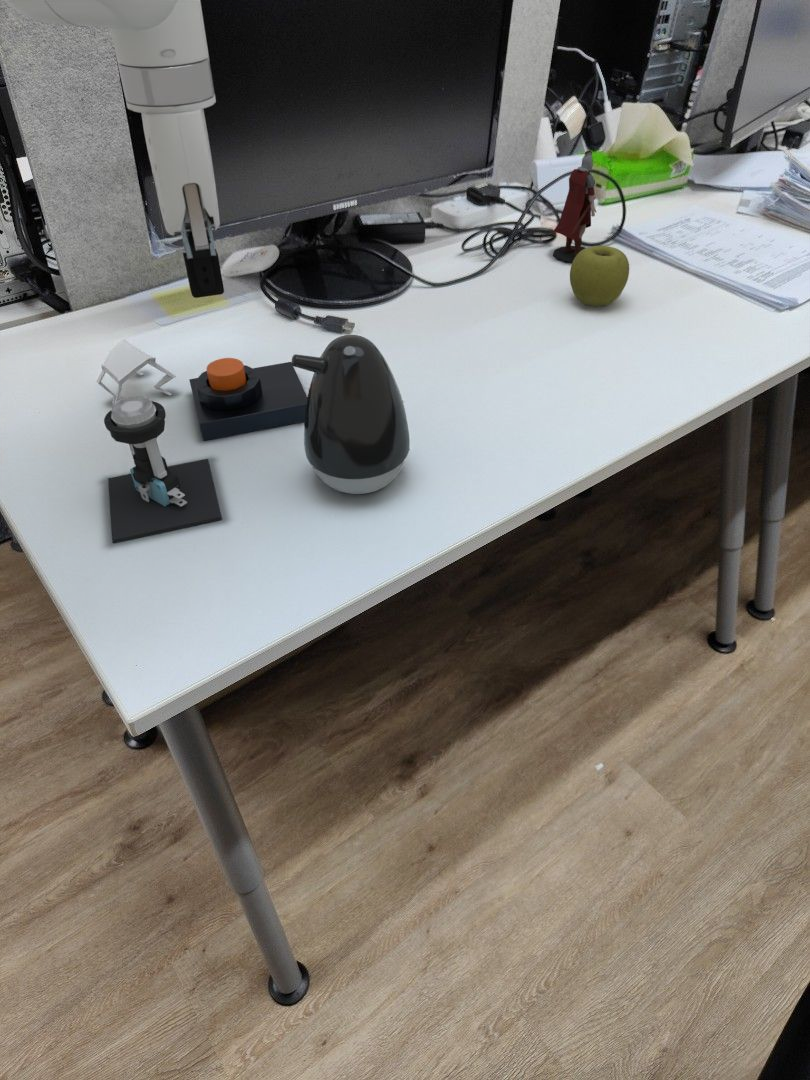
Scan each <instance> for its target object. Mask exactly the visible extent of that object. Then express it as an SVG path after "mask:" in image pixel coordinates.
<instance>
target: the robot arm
mask: <svg viewBox="0 0 810 1080" xmlns="http://www.w3.org/2000/svg"><path fill="white" fill-rule="evenodd" d="M3 2H5V3H6V4H7V5H8V6H10V8H12V9H13V10H15V11H16V12H18V13H19V14H20V15H23V16H24V17H26V18H28V19H30V20H33V21H37V22H39V23H44V24H46V25H47V24H48V25H53V26H67V27H78V28H88V27H89V28H90V27H93V28H101V29H102V28H103V29H109V31H110V35H111V39H112V44H113V49H114V53H115V57H116V63H117V67H118V72H119V76H120V80H121V85H122V86H121V87H122V91H123V94H124V98H125V103H126V108H127V109H128V110H129V111H132V112H135V113H139V114H141V120H142V128H143V134H144V138H145V139H144V140H145V144H146V149H147V154H148V160H149V163H150V168H151V173H152V176H153V182H154V187H155V191H156V195H157V200H158V205H159V209H160V213H161V218H162V221H163V225H164V229H165V231H166V233H167V234H169V236H173V237H175V236H176V234H175V233H180V234H181V241H182V244H183V245H182V246H183V249H184V252H182V256H183V260H184V266H185V270H186V275H187V280H188V286H189V289H190V293H191V296H192V297H193V298H194V299H198V298H204V297H212V296H218V295H223V294H224V293H225V287H224V282H223V275H222V271H221V265H220V258H219V254H218V252H217V248H216V246H215V240H214V239H215V238H214V234H213V233H214V232H213V231H217V229H219V227H220V226H221V221H220V211H219V202H218V201H219V200H218V194H217V193H218V192H217V186H216V179H215V172H214V165H213V158H212V152H211V145H210V139H209V133H208V128H207V121H206V116H205V110H204V109H207V108H210V107H212V106H214V105H215V104H216V102H217V99H216V92H215V86H214V80H213V79H214V78H213V73H212V72H213V71H212V67H211V61H210V60H211V59H210V54H209V47H208V41H207V34H206V28H205V22H204V15H203V10H202V8H203V7H202V2H201V0H3Z"/></svg>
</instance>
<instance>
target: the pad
mask: <svg viewBox="0 0 810 1080" xmlns="http://www.w3.org/2000/svg"><path fill="white" fill-rule="evenodd" d="M167 467H168V469H169V471H171V472H173V473H175V474H176V475H177V476H178V479H179V483H180V488H179V491H180V492H182V493H183V494H185V496H184V497H182V498H181V499H183V500H185V501H186V502H187V503H186V504H185V505H183V506H181V507H180V506H179V505H177V504H175V503H170V504H169V505H167V506H163V505H162V504H160V503H158V502H156V501H155V500H153V499H151V498H150V497H148V498H149V502H147V501H145V500H144V499H143V498H142V497H141V493H140V492H139V491H137V490H136V488H135V485H134V481H133V478H132V475H131V473H128V474H123V475H117V476H112V477H108V478H107V483H108V485H107V486H108V499H109V516H110V531H111V542H112V544H114V543H120V542H125V541H129V540H134V539H138V538H143V537H147V536H153V535H157V534H161V533H166V532H170V531H171V532H172V531H175V530H176V531H177V530H180V529H181V530H182V529H185V528H190V527H195V526H199V525H204V524H209V523H212V522H216V521H217V522H219V521H222V520H223V517H222V513H221V508H220V505H219V500H218V496H217V491H216V488H215V482H214V479H213V475H212V471H211V466H210V462H209V459H208V458H204V459H198V460H193V461H189V462H184V463H178V464H174V465H169V466H168V465H167ZM143 495H144V494H143ZM180 495H181V494H179V496H180ZM144 497H145V498H146V496H145V495H144ZM179 503H180V504H181V503H183V502H182V501H181V502H179Z"/></svg>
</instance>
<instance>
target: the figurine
mask: <svg viewBox="0 0 810 1080" xmlns="http://www.w3.org/2000/svg"><path fill="white" fill-rule="evenodd" d="M593 163H594V158H593V151H592V150H586V151H584V156H583V157H582V159H581V166H578V167H577V168H574V169H573V170H572V171H571V172H570V174H569V177H568V192H567V195H566V199H565V203H564V206H563V209H562V212H561V216H560V218H559V220H558V223H557V225H556V226H555V228H554V229H553V231H552V232H553V233H556V234H560V235H562V236H564V237H566V238H565V246H560V247H558V248H556V249H554V250H553V253H552V257H553V258H555V260H556V261H559V262H561V263H565V264H572V262H573V260H574V258H575V257H576V255H577V254H578V253H579V252H580V251H582V250H583V249H585V248H586V246H582V240H583V239H582V238H583V235H584V234H585V232H586V229H587V228H590V227H592V217H595V216H596V213H597V209H596V207H595V200H596V197H595V194H596V192H595V185H596V180H595V178H594V175H592V173H591V171H592V170H593V166H594V164H593ZM573 241H574V242H573ZM573 243H574V245H572V244H573Z"/></svg>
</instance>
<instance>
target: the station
mask: <svg viewBox="0 0 810 1080" xmlns="http://www.w3.org/2000/svg"><path fill="white" fill-rule="evenodd" d="M243 365H244V370H245V376H246V384H245V385H243V386H241V387H239V388H237V389H233V390H228V391H221V390H214V389H212V388H211V387H210V384H209V379H208V375H207V370H205V371H203V372H202V373H200V375H199V376H197V377H194V378H190V379H188V380H189V384H190V390H191V393H192V397H193V401H194V406H195V410H196V414H197V419H198V423H199V427H200V431H201V435H202V440H203V441H210V440H216V439H221V438H226V437H230V436H231V437H232V436H236V435H242V434H246V433H252V432H256V431H263V430H268V429H273V428H278V427H283V426H288V425H293V424H299V423H304V422H305V410H306V403H307V397H308V394H307V393H306V391H305V389H304V386H303V384H302V382H301V380H300V377H299V376H298V373H297V371H296V369H295V367H294V366H293V365H292V361H287V362H286V361H285V362H281V363H275V364H270V365H264V366H257V367H251V366H249V365H245V364H243Z"/></svg>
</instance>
